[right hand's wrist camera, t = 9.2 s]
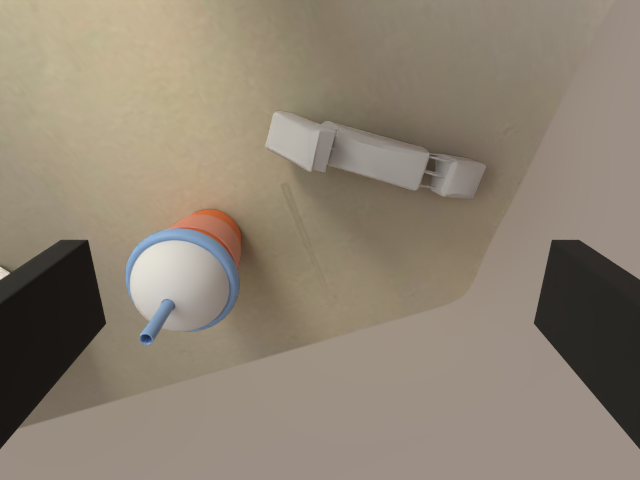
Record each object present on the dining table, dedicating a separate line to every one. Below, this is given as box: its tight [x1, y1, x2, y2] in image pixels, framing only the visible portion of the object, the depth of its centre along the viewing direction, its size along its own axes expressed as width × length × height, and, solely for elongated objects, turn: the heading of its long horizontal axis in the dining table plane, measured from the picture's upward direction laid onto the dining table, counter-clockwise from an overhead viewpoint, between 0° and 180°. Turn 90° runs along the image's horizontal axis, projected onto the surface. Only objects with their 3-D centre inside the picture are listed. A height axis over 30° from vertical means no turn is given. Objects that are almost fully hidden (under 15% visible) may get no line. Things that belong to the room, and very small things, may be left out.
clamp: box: [266, 111, 486, 199], centre depth 38 cm, size 20×4×7 cm, turn 76°
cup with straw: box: [125, 209, 241, 345], centre depth 36 cm, size 9×9×18 cm
